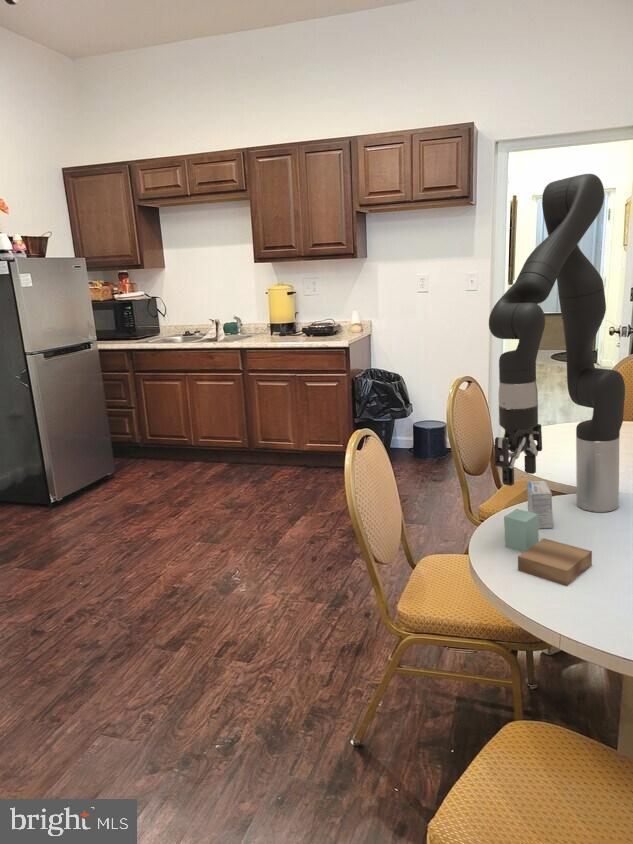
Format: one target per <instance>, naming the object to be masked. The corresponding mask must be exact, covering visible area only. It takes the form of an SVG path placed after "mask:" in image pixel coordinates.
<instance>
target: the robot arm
mask: <svg viewBox="0 0 633 844" xmlns="http://www.w3.org/2000/svg"><path fill="white" fill-rule="evenodd" d="M604 187H605V186H604V184H603V182H602V180H601V178H599V176H598V175H596V174H594V173H582V174H579V175H574V176H570V177H567V178H566V177H565V178H561V179H558V180H555V181H551V182H549V183H548V184H547V185H545V187H544V189H543V192H542V197H541V198H542V200H541V207H542V215H543V220H544V225H545V229H546V232H547V237H546V238H545V239H544V240H543V241H542V242H540V243H539V244H538V245H537V246H536V248H534V249H533V251H532V252H531V253H530V254H529V256H528V257H527V258H526V260H525V262H524V264H523V266H522V268H521V270H520V271H519V273H518V275H517V278H516V280H515V282H514V283H513V284H512V285H511V286H510V287H508V289H507V290H506V291H505V293H504V294H503V295H502V296H501V297H500V298H499V299H498V301H497V302H496V303H494V306H493V308H492V309H491V311H490V314H489V319H488V328H489V331H490V333H491V335H492V336H494V337H495V338H496V339H501V340H518V343H517V346H516V349H514V350H509V351H505V352H503V353H501V354H500V356H499V358H498V359H499V360H498V375H499V377H498V379H499V386H498V422H499V426H500V427H501V428H503V429H504V434H503V437H498V436H496V437H495V439H494V466H495V467H499V468H501V471H502V473H501V475H502V476H501V478H502V484H504V485H506V486H510V487H511V486H514V484H515V467H514V465H515V463H516V460H518V459H519V458H520V455H521V453H522V452H523V454H524V472H525V473H526V474H531V475H534V474H535V473H537V459H536V458H537V456H538V454H539V452H542V450H543V435H542V433H543V431H542V424H540V423H539V397H538V395H539V393H538V385H537V384H538V383H537V357H538V353H539V349H540V345H541V341H542V338H543V334H544V331H545V327H546V326H545V325H546V317H545V312H544V311H543V308H542V307H541V306H540V304H541V303H544V302H545V301H546V300H548V298H549V296H550V294H551V292H552V290H553V287H554V286H555V283H557V284H556V285H557V291H558V293H557V294H558V299H559V300H558V301H559V307H560V314H561V319H562V320H561V321H562V326H563V333H564V335H563V336H564V341H565V342H564V343H565V355H566V381H567V382H566V384H567V391H568V395H569V397H570V398H569V399H570V400H571V401H572V402H573V403H574V404H575V405H578V406H581V407H585V408H590V409H593V410H592V418H591V419H589V420H584V421H581V422H579V423H578V424H577V425H576V426H575V427H576V429H575V434H576V435H575V445H576V446H575V450H576V452H575V453H576V455H575V457H576V458H575V459H576V472H575V473H576V482H575V483H576V506H577V507H579V508H580V509H582V510H584V511H589V512H597V513H600V512H601V513H603V512H604V513H605V512H611V511H614V510H617V509H618V508H619V503H620V436H621V435H620V434H621V433H620V431H621V429H622V425H623V422H624V412H625V411H624V410H625V400H626V399H625V397H626V385H625V380H624V379H625V378H624V376H623V375H622V374H621V372H619V371H617V370H614V369H609V368H598V367H595V363H594V362H595V361H594V355H593V352H594V351H593V349H594V348H593V347H594V341H595V338H596V336H597V334H598V332H599V330H600V328H601V326H602V324H603V322H604V321H603V320H604V319H605V316H606V310H607V303H606V295H605V294H606V293H605V285H604V281H603V278H602V276H601V274H600V272H599V271H598V270H597V268H596V267H595V266H594V265H593V264H592V262H591V261H590V260H589V259H588V257H587V256H586V255H585V254H584V253H583V252H582V250H581V249H580V246H579V245H578V244H579V243H580V241H581V240H582V238H583V237H584V236H585V234H586V233H587V231H588V229H590V227H591V226H592V224H593V223H594V222H595V220H596V218H597V217H598V216H599V214H600V212H601V210H602V208H603V206H604V200H605V189H604ZM535 441H536V442H535ZM509 458H510V459H509Z"/></svg>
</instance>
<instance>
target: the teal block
mask: <svg viewBox="0 0 633 844" xmlns="http://www.w3.org/2000/svg"><path fill="white" fill-rule="evenodd" d="M503 520H504V521H503V523H504V524H503V525H504V527H503V528H504V547H505V548H508V549H511V550H515V551H519V552H522V553H523V552H525V551H526V550H528V549H529V548H530V547H532V546H533V545H535V544H536V543H538V542H539V541H540V540H539V539H540V533H539V531H540V530H539V528H538V514H536V513H532V512H528V510H522V509H519V508H516V509H514V510H513V511H511V512H510V513H507V514H506V515H505V516H504V517H503Z"/></svg>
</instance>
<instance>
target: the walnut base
mask: <svg viewBox="0 0 633 844" xmlns="http://www.w3.org/2000/svg"><path fill="white" fill-rule="evenodd" d="M592 558H593V552H592V550H589V549H584V548H582V547H578V546H574V545H570V544H565V543H563V542H558V541H554V540H552V539H548V538H542V539H540V540H539V542H538V543H536V544H535V545H533V546H532V547H530V548H529V549H528V550H526V551H525V552H522V553H520V554H518V556H517V571H520V572H523V573H527V574H529V575H533V576H535V577H539V578H541V577H542V579H544V578H545V580H548V581H551V580H552V581H551V582H554V581H555V582H554V583H557V582H558V584H560V583H561V584H560V585H563V584H564V586H566V587H567V586H568V585H570V584H571V583H573V582H574V581H575V580H576V579H577V578H578V577H579V576H581V575H582V574H583V573H584V572H585V571H587V570H588V569H589V568H590V567H591V566H593V565H592V564H593V559H592ZM581 573H582V574H581ZM580 574H581V575H580ZM576 577H577V578H576ZM575 578H576V579H575ZM574 579H575V580H574Z"/></svg>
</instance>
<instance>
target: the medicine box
mask: <svg viewBox="0 0 633 844" xmlns="http://www.w3.org/2000/svg"><path fill="white" fill-rule="evenodd" d="M526 486H527V487H526V489H527V490H526V491H527V493H526V494H527V511H528V512H532V513H536V514H538V528H539V529H540V530H541V529H552V528H553V526H554V523H553V522H554V521H553V519H554V518H553V496H552V494H553V493H552V491H551V489H550V487H549V485H548V482H547V481H546V480H542V481H540V480H536V481H535V480H533V481H527V482H526Z"/></svg>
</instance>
